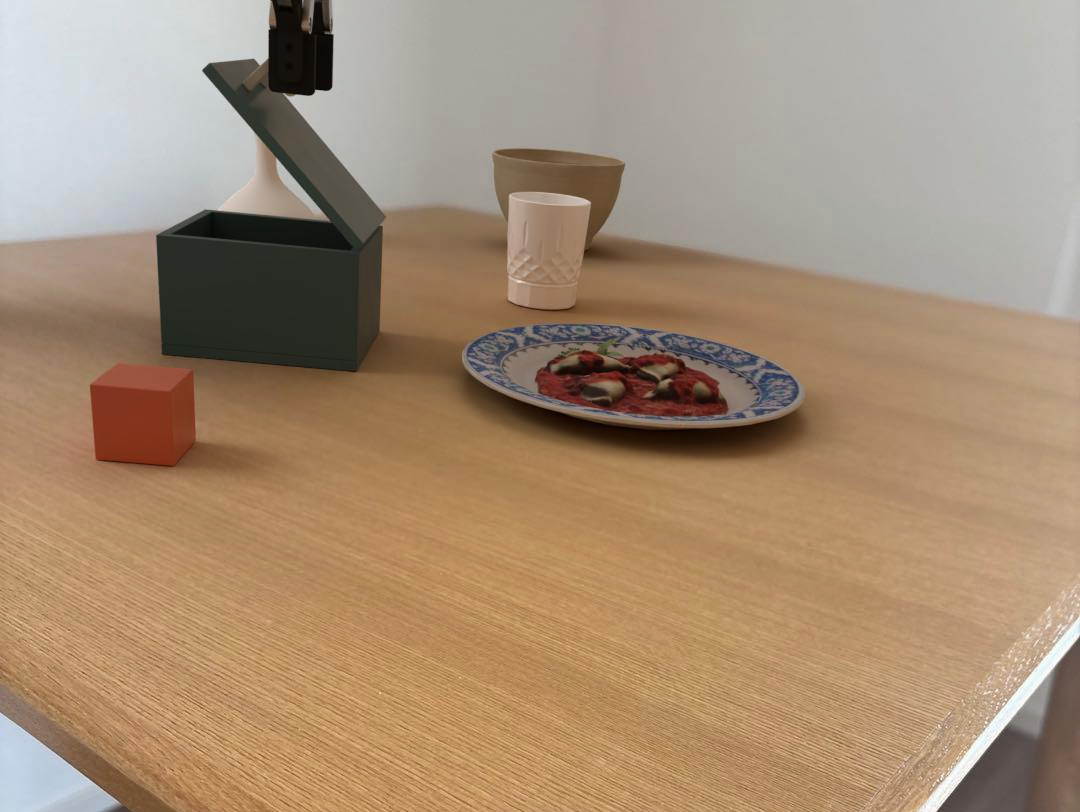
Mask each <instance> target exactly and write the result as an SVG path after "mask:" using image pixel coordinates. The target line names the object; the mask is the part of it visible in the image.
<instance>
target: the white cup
mask: <svg viewBox="0 0 1080 812" xmlns="http://www.w3.org/2000/svg"><path fill="white" fill-rule="evenodd" d="M590 207H591V202H590V201H588V200H586V199H583V198H579V197H575V196H569V195H563V194H554V193H543V192H516V193H511V194H510V195H509V212H508V223H507V241H506V242H507V252H506V253H507V255H506V258H507V260H506V261H507V262H506V263H507V264H506V271H507V274H508V275H507V294H506V295H507V299H508V301H509V302H510V303H512V304H514V305H516V306H520V307H524V308H529V309H535V310H543V311H544V310H548V311H549V310H550V311H553V310H554V311H555V310H558V311H559V310H567V309H570V308H572V307H574V306H575V305H576V300H577V293H578V284H579V282H578V281H579V278H580V276H581V272H582V264H583V260H584V255H585V250H584V248H585V241H586V234H587V228H588V221H589V214H590Z"/></svg>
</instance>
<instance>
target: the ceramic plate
mask: <svg viewBox="0 0 1080 812" xmlns="http://www.w3.org/2000/svg"><path fill="white" fill-rule="evenodd" d="M461 360H462V364H463V366H464V369H465V370H467V372H468V373H469V374H470V375H471V376H472V377H473V378H475V379H476V380H477V381H479V382H481V383H482V384H483V385H485V386H487V387H488V388H489V389H492V390H494V391H496V392H498V393H500V394H503V395H505V396H508V397H510V398H511V399H515V400H518V401H520V402H523V403H526V404H529V405H533V406H535V407H538V408H542V409H545V410H550V411H554V412H557V413H560V414H563V415H565V416H569V417H570V418H571V417H572V418H575V419H580V420H583V421H588V422H592V423H593V422H594V423H597V424H601V425H602V424H603V425H607V426H613V427H621V428H631V429H639V430H640V429H641V430H647V431H648V430H650V431H658V430H659V431H660V430H662V431H663V430H664V431H665V430H666V431H669V430H671V431H672V430H675V431H677V430H691V429H692V430H693V429H716V428H717V429H718V428H731V427H733V428H734V427H743V426H750V425H754V424H755V425H756V424H759V423H764V422H767V421H772V420H777V419H780V418H782V417H785V416H787V415H789V414H791V413H792V412H794V411H796V410H797V409H798V408H799V407H801V406H802V404H803V403H804V401H805V398H806V394H807V393H806V388H805V386H804V384H803V383H802V381H801V380H800V379H799V378H798V377H797V376H796V375H795V374H794V373H793V372H792V371H790V370H788V368H786V367H784V366H782V365H781V364H779V363H776V362H774V361H772V360H771V359H769V358H767V357H764V356H762V355H759V354H757V353H754V352H751V351H748V350H746V349H743V348H740V347H737V346H733V345H731V344H728V343H724V342H720V341H716V340H712V339H707V338H702V337H698V336H693V335H689V334H685V333H679V332H674V331H666V330H660V329H655V328H654V329H653V328H647V327H639V326H630V325H621V324H607V323H606V324H604V323H541V324H540V323H539V324H530V325H529V324H528V325H522V326H515V327H514V326H513V327H506V328H503V329H502V328H501V329H498V330H495V331H492V332H489V333H486V334H484V335H480V336H478V337H476V338H474V339H473V340H471V341H470V342H468V343H467V344H466V345H465V346H464V348H463V350H462V352H461Z"/></svg>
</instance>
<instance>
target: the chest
mask: <svg viewBox="0 0 1080 812" xmlns="http://www.w3.org/2000/svg"><path fill="white" fill-rule="evenodd" d="M383 235H384V227H383V225H379V226H378V227H377V229H376V230H375V231H374V232H373V233H372V234H371V236H370V237H369V238H368V239H367V240H366V241H365V242H364V244H363V245H361V246H360V247H359V248H358V249H357V250H355V249H354V248H353V247H352V246H351V245H350V243H349V242H348V241H347V240H346V239H345V238H344V236H343V235H342V234H341V233H340V232H339V231H338V229H337V228H336V227H335V226H334V225H333V224H332V222H331V221H330V220H323V219H316V220H314V219H303V218H293V217H282V216H271V215H260V214H250V213H239V212H228V211H218V209H216V210H215V209H208V208H207V209H206V208H205V209H203V210H202V211H199V212H198V213H196V214H194V215H192V216H190V217H187V218H186V219H184V220H182V221H181V222H180V221H179V223H177V224H174V225H173V226H171V227H169V228H167V229H165V230H163V231H161V232H159V233H157V234H156V236H155V243H156V260H157V261H156V263H157V281H158V283H157V284H158V303H159V321H160V341H161V344H160V345H161V354H162V355H166V356H167V355H168V356H178V357H190V358H201V359H211V360H223V361H232V362H233V361H234V362H243V363H257V364H269V365H279V366H291V367H300V368H301V367H302V368H311V369H312V368H313V369H325V370H336V371H344V372H345V371H347V372H358V369H359V368H360V367H361V364H362V363H363V361H364V359H365V357H366V356H367V354H368V352H369V350H370V348H371V346H372V345H373V343H374V341H375V339H377V337H378V334H379V333H380V330H381V327H380V326H381V301H382V300H381V299H382V272H383V271H382V269H383V268H382V267H383V237H384V236H383Z"/></svg>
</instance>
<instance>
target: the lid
mask: <svg viewBox="0 0 1080 812" xmlns="http://www.w3.org/2000/svg"><path fill="white" fill-rule="evenodd" d="M201 72H202V74H204V75H205V77H206V78H207V79H208V80H209V81H210V83H212V85H213V86H214V87H215V88H216V89H217V90H218V91H219V93H220V94H221V95H222V97H224V99H225V100H226V101H227V102H228V104H229V105H230V106H231V107H232V108H233V109H234V111H236V113H237V114H238V115H239V116H240V118H242V120H243V121H244V122H245V123H246V124H247V126H248V127H249V128H250V129H251V131H253V133H254V132H255V134H256V135H257V136H258V137H259V138H260V139H261V141H262V142H263V143H264V144H265V145H266V146H267V148H268V149H269V150H270V151H271V152H272V153H273V155H274V156H275V157H276V160H278V162H279V163H280V164H281V165H282V167H283V168H284V169H285V170H286V171H287V173H288V174H289V175H290V177H292V178H293V179H294V181H296V183H297V184H298V185H299V186H300V187H301V189H303V191H304V192H305V193H306V195H307V196H308V197H309V198H310V199H311V200H312V201H313V203H314V204H315V205H316V206H317V207H318V208H319V210H320V211H321V212H322V213H323V215H324V216H325V217H326V218H327V219H328V221H331V222H332V224H333V225H334V226H335V227H336V228H337V229H338V231H339V232H340V233H341V234H342V235H343V236H344V238H345V239H346V240H347V241H348V242H349V243H350V245H351V246H352V247H353V248H354V249H355V250H357V249H358V248H359V247H360V246H361V245H363V244H364V242H365V241H366V240H367V239H368V238H369V237H370V236H371V234H372V233H373V232H374V231H375V230H376V229H377V227H378V226H381V225H382V223H384V221H385V219H386V218H387V216H386V214H385V213H384V212H383V211H382V210H381V209H380V207H379V206H378V205H377V203H375V201H374V200H373V199H372V198H371V197H370V196H369V194H368V193H367V192H366V191H365V189H364V188H363V187H362V186H361V185H360V183H359V182H358V181H357V179H355V177H354V176H353V175H352V174H351V172H350V171H349V170H348V169H347V168H346V167H345V165H344V164H343V163H342V162H341V161H340V159H339V158H338V157H337V156H336V155H335V153H334V152H333V151H332V150H331V149H330V147H329V146H328V145H327V144H326V143H325V141H324V140H323V139H322V137H320V135H319V134H318V133H317V131H315V130H314V128H313V127H312V126H311V125H310V123H309V122H308V121H307V120H306V119H305V117H304V116H303V115H302V114H301V112H300V111H299V110H298V109H297V108H296V107H295V105H293V103H292V102H291V101H290V99H289V98H288V96H287V95H286V94H284V93H277V92H272V91H271V90H270V89H269V87H268V58H267V59H266V60H264V61H263V63H261V64H260V63H259V62H258V61H257V60H256V59H255V58H246V59H235V60H225V61H216V62H208V63H207V64H206V65H205V66H204V67H203V68H202V70H201Z"/></svg>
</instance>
